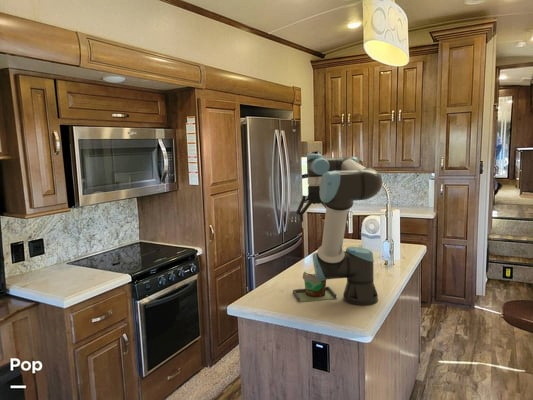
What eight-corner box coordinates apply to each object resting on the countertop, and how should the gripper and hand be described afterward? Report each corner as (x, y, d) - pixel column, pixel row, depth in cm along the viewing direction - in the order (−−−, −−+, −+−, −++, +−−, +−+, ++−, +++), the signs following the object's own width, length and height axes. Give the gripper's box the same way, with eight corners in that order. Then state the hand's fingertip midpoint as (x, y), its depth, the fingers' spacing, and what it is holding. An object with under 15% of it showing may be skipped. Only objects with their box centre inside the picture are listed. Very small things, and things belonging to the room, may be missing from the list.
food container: (298, 295, 191) (297, 274, 190) (304, 291, 196) (304, 271, 195) (321, 300, 184) (320, 278, 183) (327, 296, 189) (327, 274, 188)
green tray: (336, 298, 186) (336, 294, 186) (297, 302, 184) (297, 298, 183) (329, 290, 198) (329, 286, 197) (292, 293, 195) (292, 289, 195)
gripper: (337, 183, 210) (338, 224, 212) (289, 185, 207) (290, 227, 209) (342, 184, 203) (342, 226, 205) (292, 187, 199) (293, 230, 202)
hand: (316, 227), depth 207 cm, fingers open, 13 cm apart
